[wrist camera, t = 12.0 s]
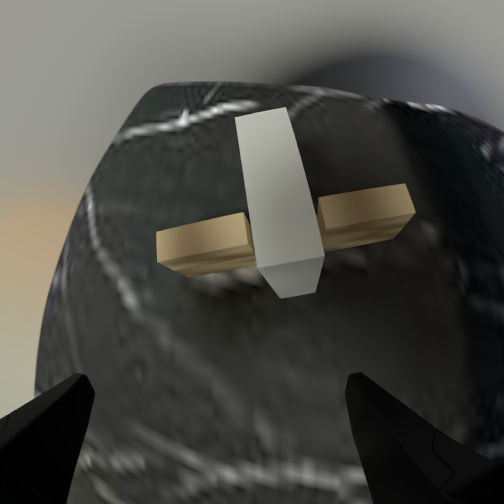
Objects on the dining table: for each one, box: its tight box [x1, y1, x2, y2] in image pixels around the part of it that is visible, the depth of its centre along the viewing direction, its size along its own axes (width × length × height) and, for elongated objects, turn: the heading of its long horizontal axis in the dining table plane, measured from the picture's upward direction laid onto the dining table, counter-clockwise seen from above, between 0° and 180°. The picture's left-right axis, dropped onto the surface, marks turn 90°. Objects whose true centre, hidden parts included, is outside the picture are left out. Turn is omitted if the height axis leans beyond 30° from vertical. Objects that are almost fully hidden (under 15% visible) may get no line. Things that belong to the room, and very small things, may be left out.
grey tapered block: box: [235, 107, 325, 299], centre depth 16 cm, size 8×2×10 cm, turn 8°
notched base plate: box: [157, 184, 416, 277], centre depth 18 cm, size 16×2×5 cm, turn 98°
